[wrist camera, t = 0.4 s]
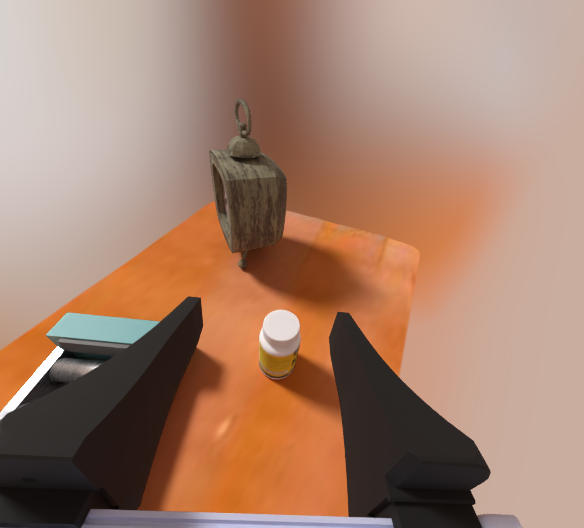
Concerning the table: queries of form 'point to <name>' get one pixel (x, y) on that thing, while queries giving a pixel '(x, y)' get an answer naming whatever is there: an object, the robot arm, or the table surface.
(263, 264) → the table surface
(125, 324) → the end stop
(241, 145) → the tabletop clock
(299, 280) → the table surface
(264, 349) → the supplement bottle
